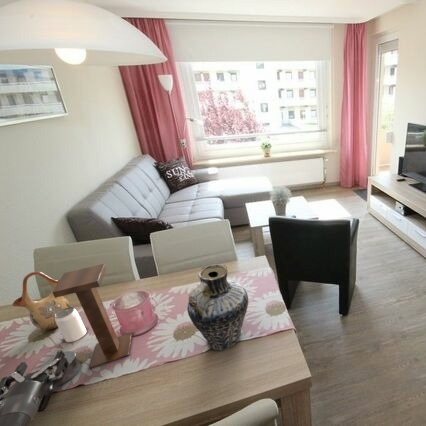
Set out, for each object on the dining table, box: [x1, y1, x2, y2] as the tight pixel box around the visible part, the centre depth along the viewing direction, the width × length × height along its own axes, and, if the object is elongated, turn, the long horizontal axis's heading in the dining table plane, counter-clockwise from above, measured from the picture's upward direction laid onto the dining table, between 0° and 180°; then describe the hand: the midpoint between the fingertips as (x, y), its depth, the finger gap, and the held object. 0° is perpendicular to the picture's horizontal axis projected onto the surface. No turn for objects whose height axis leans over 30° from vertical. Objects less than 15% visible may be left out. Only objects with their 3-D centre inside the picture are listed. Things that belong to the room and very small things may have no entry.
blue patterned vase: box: [187, 263, 249, 351], centre depth 100 cm, size 21×19×30 cm
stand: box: [51, 263, 133, 369], centre depth 97 cm, size 11×11×32 cm
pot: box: [36, 350, 82, 413], centre depth 89 cm, size 9×20×7 cm, turn 25°
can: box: [55, 306, 87, 343], centre depth 108 cm, size 6×6×12 cm
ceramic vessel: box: [12, 271, 72, 331], centre depth 112 cm, size 16×9×25 cm, turn 153°
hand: (43, 358), depth 86 cm, fingers open, 8 cm apart
